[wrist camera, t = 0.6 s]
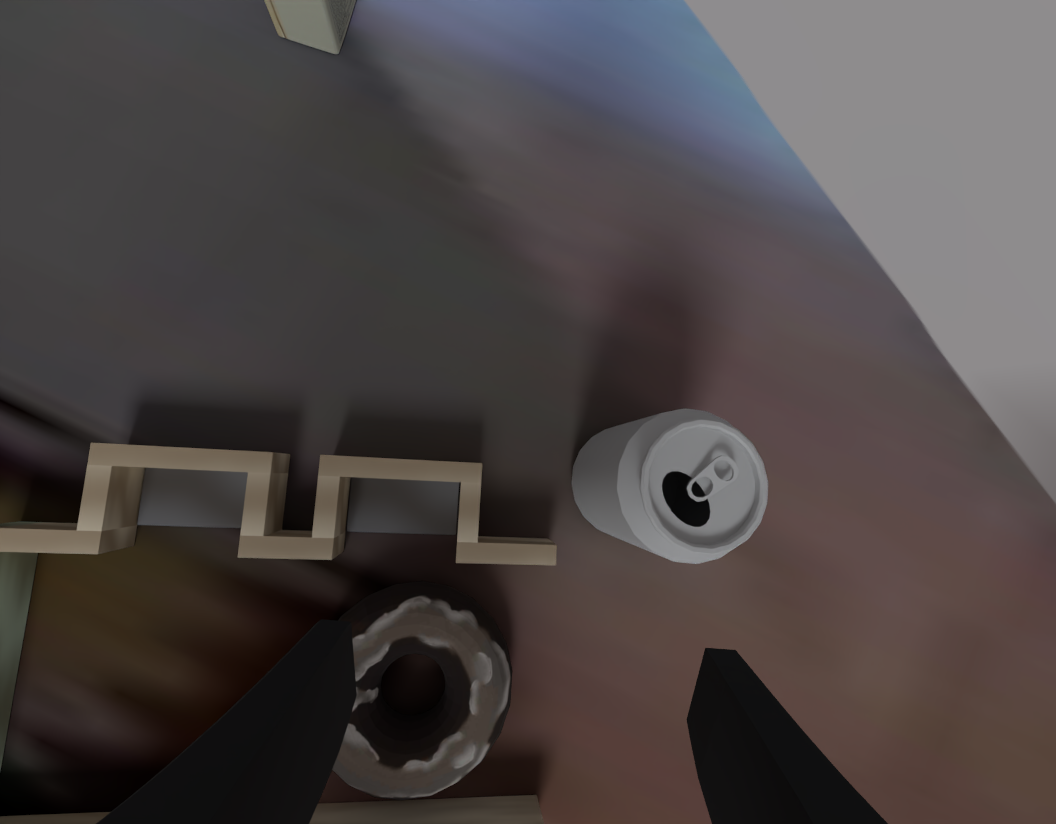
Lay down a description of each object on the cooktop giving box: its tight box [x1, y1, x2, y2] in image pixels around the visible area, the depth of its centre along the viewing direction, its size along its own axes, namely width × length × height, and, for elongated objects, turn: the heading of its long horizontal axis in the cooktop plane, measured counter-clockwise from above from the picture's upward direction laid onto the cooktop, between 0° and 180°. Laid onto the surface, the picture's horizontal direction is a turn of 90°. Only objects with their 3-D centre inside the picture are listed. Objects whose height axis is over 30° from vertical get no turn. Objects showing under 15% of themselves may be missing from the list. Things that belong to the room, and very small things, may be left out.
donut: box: [332, 581, 512, 801], centre depth 29 cm, size 12×12×4 cm
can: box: [571, 408, 768, 564], centre depth 28 cm, size 8×8×12 cm
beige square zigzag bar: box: [0, 443, 557, 824], centre depth 28 cm, size 22×31×3 cm
